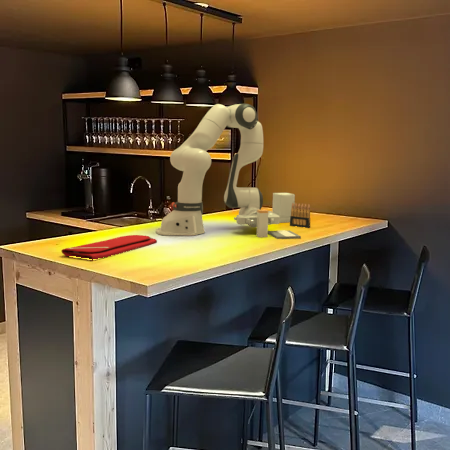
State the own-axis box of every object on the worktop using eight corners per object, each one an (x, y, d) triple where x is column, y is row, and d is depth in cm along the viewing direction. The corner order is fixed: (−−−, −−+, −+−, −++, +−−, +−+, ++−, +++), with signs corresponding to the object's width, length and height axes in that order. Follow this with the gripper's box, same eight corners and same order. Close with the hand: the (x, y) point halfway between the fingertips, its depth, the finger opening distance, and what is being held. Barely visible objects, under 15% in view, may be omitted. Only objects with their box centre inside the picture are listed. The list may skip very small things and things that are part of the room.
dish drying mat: (157, 243, 239) (157, 235, 239) (94, 262, 203) (93, 252, 203) (127, 240, 246) (127, 231, 246) (60, 257, 210) (60, 247, 210)
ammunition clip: (289, 225, 290) (290, 202, 288) (291, 225, 292) (292, 202, 290) (308, 228, 284) (309, 204, 282) (310, 227, 286) (311, 203, 284)
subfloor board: (277, 238, 253) (277, 236, 253) (267, 233, 268) (267, 230, 267) (300, 238, 256) (300, 236, 255) (289, 232, 270) (289, 230, 270)
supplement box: (294, 222, 302) (295, 194, 300) (279, 223, 299) (280, 194, 296) (286, 219, 310) (287, 192, 308) (271, 220, 307) (272, 192, 305)
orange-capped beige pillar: (258, 237, 256) (259, 210, 255) (256, 235, 260) (257, 209, 258) (267, 237, 257) (268, 210, 255) (264, 235, 261) (265, 209, 259)
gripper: (232, 211, 268) (240, 215, 255) (274, 210, 273) (283, 215, 260) (232, 224, 269) (239, 229, 256) (274, 223, 274) (283, 228, 261)
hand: (262, 222), depth 258 cm, fingers open, 8 cm apart
